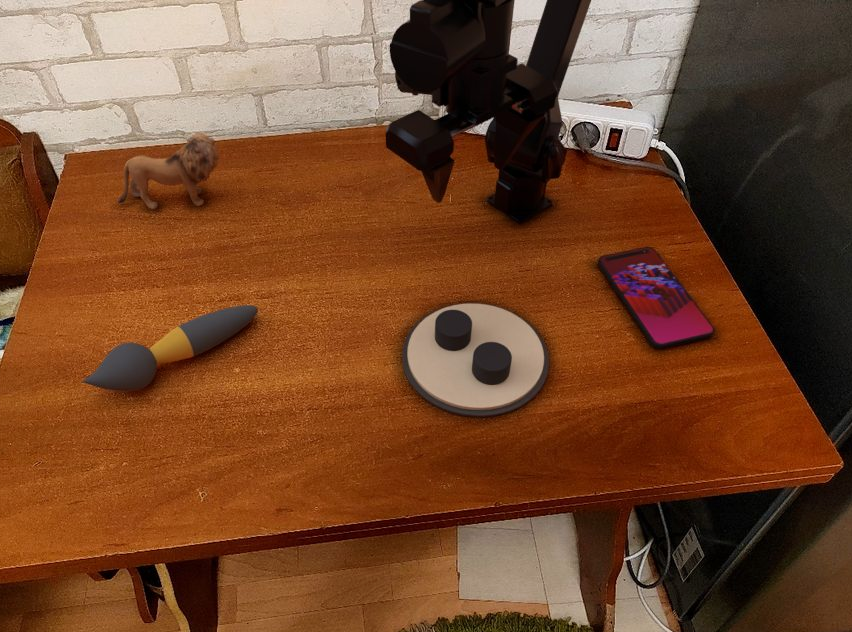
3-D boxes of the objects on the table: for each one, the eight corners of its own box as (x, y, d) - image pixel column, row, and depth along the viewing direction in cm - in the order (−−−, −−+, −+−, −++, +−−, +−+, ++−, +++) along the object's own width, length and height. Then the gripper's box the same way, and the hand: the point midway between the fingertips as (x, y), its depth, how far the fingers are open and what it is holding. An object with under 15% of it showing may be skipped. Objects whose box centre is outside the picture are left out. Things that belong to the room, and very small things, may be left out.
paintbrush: (240, 299, 81) (232, 268, 77) (265, 321, 79) (258, 290, 75) (86, 392, 72) (68, 363, 69) (109, 420, 70) (91, 391, 66)
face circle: (478, 285, 82) (479, 279, 82) (579, 365, 74) (581, 359, 73) (372, 349, 76) (372, 344, 75) (470, 444, 68) (471, 439, 67)
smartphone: (655, 346, 74) (595, 256, 84) (653, 352, 75) (593, 261, 84) (719, 332, 76) (652, 244, 85) (716, 337, 76) (650, 250, 86)
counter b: (491, 350, 74) (493, 335, 73) (517, 372, 72) (520, 358, 71) (463, 368, 73) (465, 354, 71) (489, 391, 71) (491, 377, 69)
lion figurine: (227, 180, 96) (213, 123, 90) (229, 203, 93) (214, 145, 86) (119, 195, 95) (97, 137, 88) (118, 219, 91) (94, 161, 84)
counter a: (454, 318, 78) (455, 304, 76) (478, 339, 75) (479, 324, 74) (427, 335, 76) (427, 320, 74) (451, 357, 74) (452, 342, 72)
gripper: (491, -11, 71) (480, 123, 83) (346, 44, 64) (357, 183, 76) (571, 26, 66) (547, 164, 78) (423, 91, 58) (421, 233, 70)
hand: (468, 184), depth 76 cm, fingers open, 9 cm apart
